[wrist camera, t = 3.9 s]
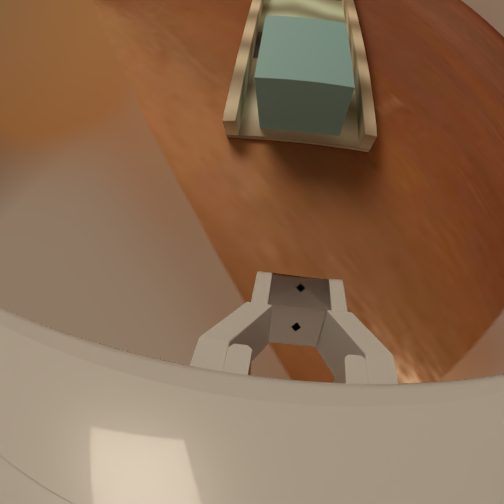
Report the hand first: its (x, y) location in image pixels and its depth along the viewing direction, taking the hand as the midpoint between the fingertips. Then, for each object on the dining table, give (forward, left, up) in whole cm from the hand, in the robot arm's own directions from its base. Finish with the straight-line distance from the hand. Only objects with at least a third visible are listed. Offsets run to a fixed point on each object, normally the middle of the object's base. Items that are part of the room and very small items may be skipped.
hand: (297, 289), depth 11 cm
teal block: (+15, -15, -14) cm, 26 cm away
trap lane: (+24, -24, -15) cm, 37 cm away
